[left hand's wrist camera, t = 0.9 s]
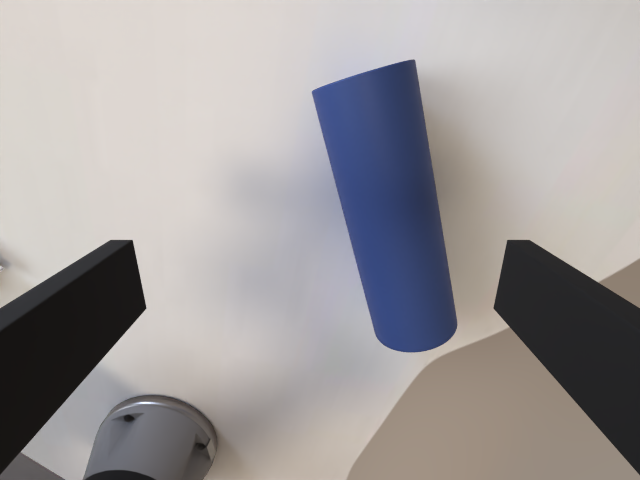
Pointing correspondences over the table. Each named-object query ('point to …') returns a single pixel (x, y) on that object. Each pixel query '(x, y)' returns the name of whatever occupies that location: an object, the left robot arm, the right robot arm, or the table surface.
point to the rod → (390, 203)
